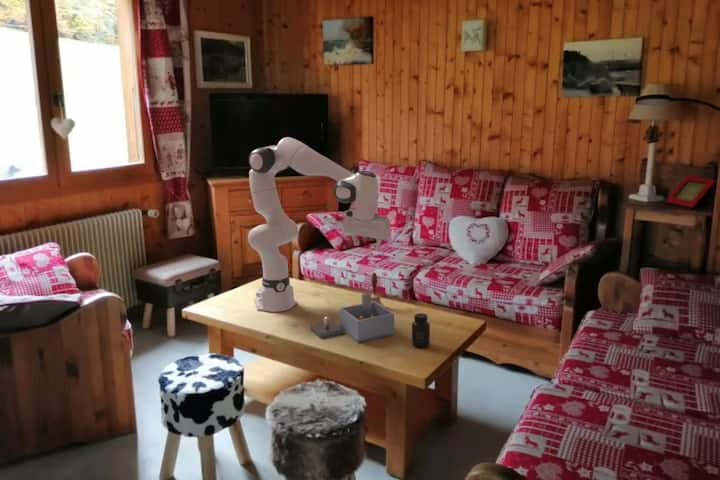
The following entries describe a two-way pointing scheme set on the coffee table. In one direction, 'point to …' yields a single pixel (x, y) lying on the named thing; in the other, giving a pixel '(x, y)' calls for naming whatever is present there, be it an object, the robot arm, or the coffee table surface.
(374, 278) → the hand bell
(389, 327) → the bin
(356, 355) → the coffee table surface
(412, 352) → the coffee table surface
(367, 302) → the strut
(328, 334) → the ball stud base
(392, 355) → the coffee table surface
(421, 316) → the supplement bottle
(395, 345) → the coffee table surface
